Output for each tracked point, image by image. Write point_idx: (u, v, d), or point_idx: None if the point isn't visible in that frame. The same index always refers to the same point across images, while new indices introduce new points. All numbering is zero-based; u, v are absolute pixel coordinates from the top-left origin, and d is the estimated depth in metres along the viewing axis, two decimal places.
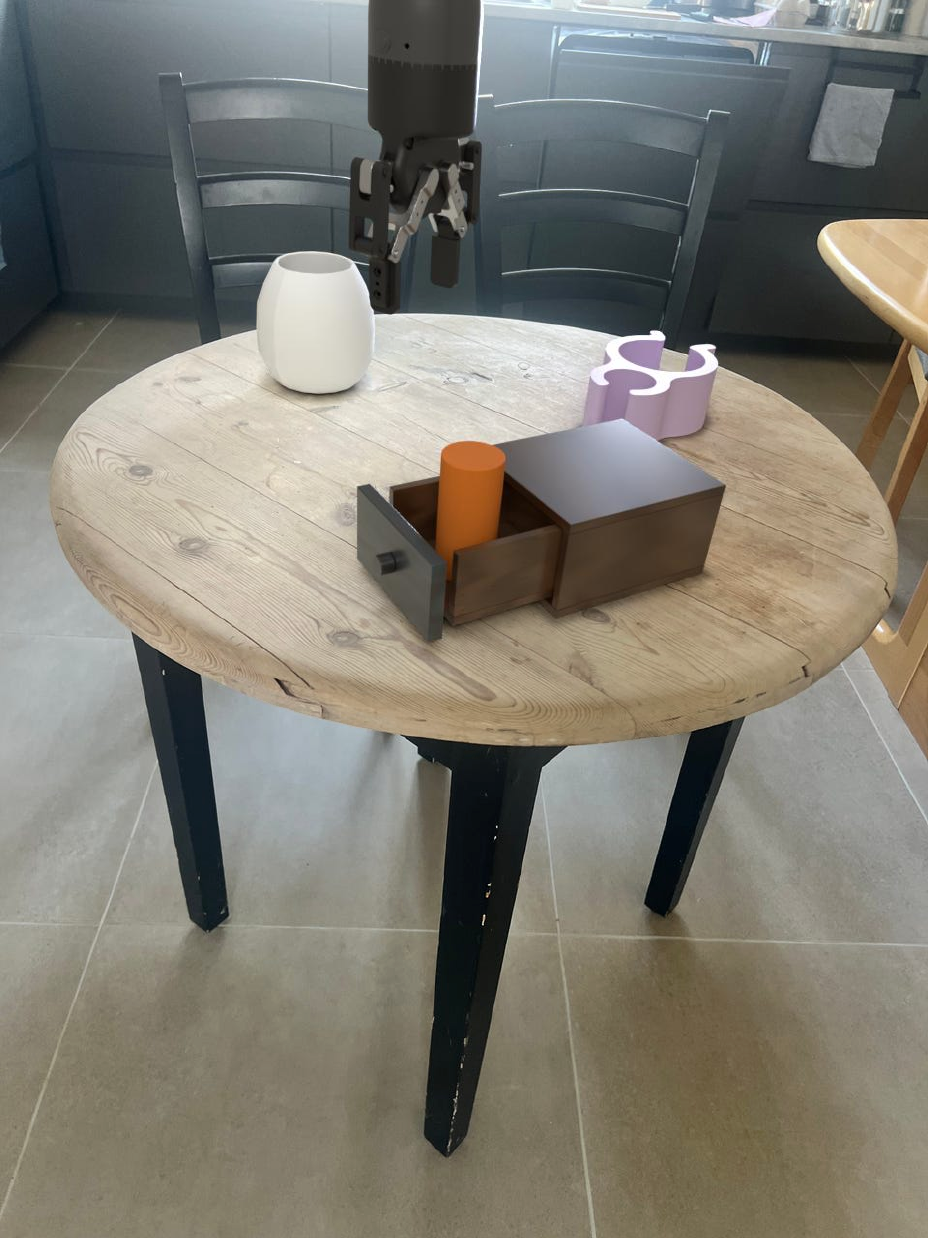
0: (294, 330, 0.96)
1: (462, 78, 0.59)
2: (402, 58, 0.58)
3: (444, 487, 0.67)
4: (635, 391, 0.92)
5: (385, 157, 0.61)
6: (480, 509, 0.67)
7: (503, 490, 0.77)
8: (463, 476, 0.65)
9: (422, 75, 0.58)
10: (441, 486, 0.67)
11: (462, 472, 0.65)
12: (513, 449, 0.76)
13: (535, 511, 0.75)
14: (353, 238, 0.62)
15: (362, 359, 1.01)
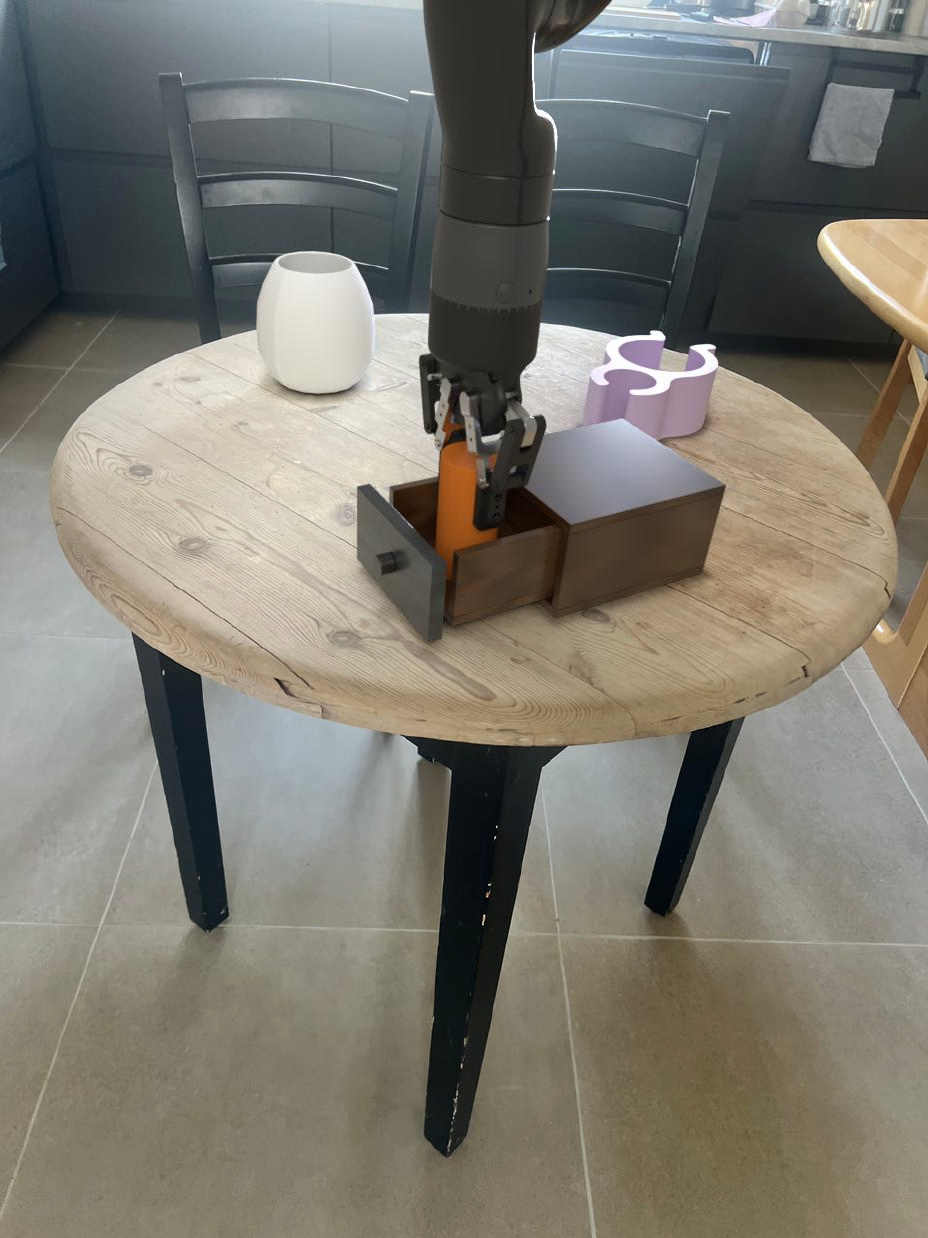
0: (294, 330, 0.96)
1: None
2: (526, 303, 0.57)
3: (444, 487, 0.67)
4: (635, 391, 0.92)
5: None
6: None
7: None
8: (463, 476, 0.65)
9: (536, 312, 0.59)
10: (441, 486, 0.67)
11: (462, 472, 0.65)
12: None
13: (535, 511, 0.75)
14: (504, 483, 0.62)
15: (362, 359, 1.01)
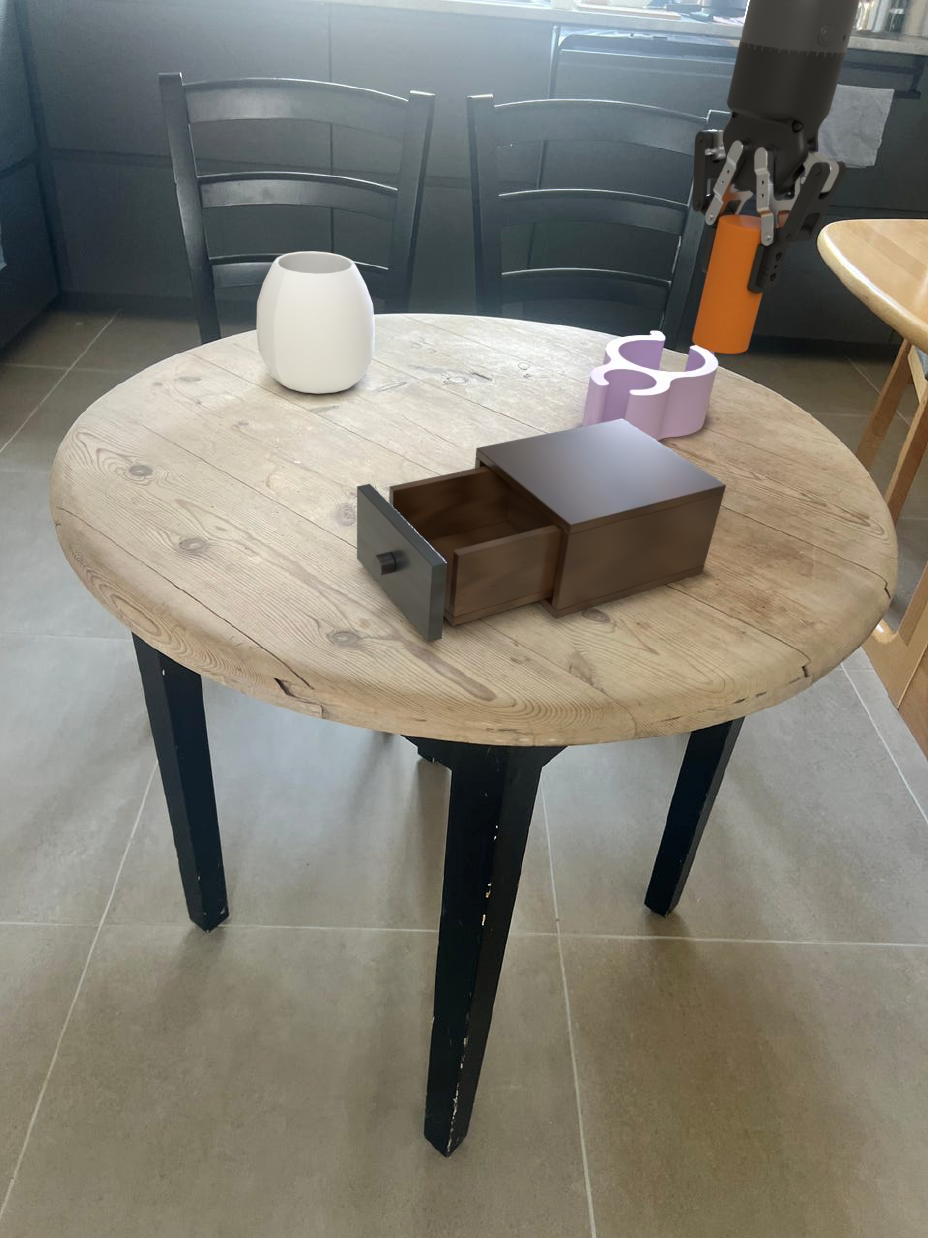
0: (294, 330, 0.96)
1: None
2: (839, 49, 0.63)
3: (723, 251, 0.73)
4: (635, 391, 0.92)
5: None
6: None
7: (503, 490, 0.77)
8: (746, 237, 0.71)
9: (842, 62, 0.65)
10: (718, 252, 0.73)
11: (745, 232, 0.71)
12: (513, 449, 0.76)
13: (535, 511, 0.75)
14: (796, 232, 0.68)
15: (362, 359, 1.01)
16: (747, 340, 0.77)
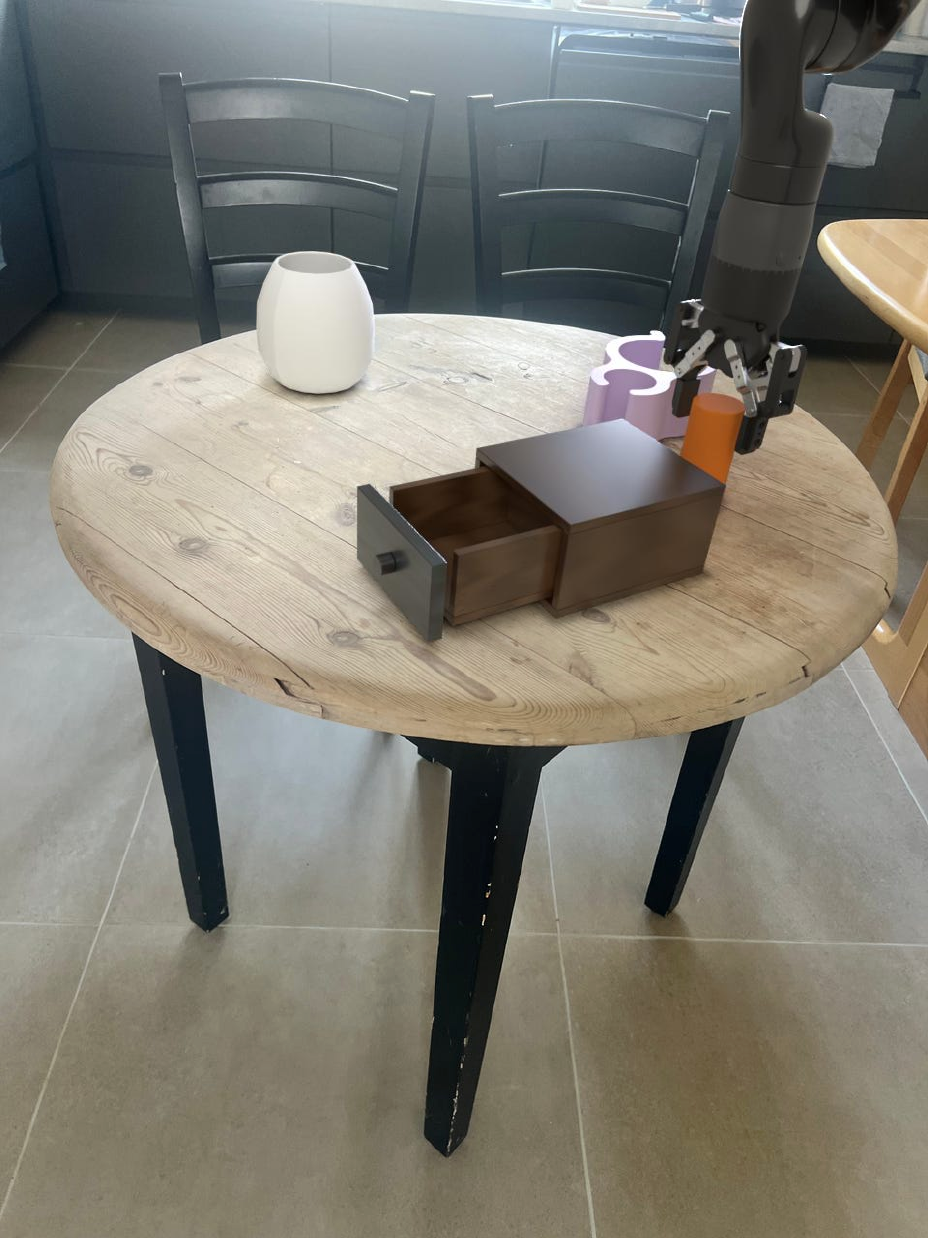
0: (294, 330, 0.96)
1: None
2: (795, 267, 0.73)
3: (696, 429, 0.83)
4: (635, 391, 0.92)
5: None
6: (724, 447, 0.83)
7: (503, 490, 0.77)
8: (716, 419, 0.82)
9: (798, 274, 0.75)
10: (692, 428, 0.84)
11: (715, 415, 0.82)
12: (513, 449, 0.76)
13: (535, 511, 0.75)
14: (776, 408, 0.77)
15: (362, 359, 1.01)
16: None
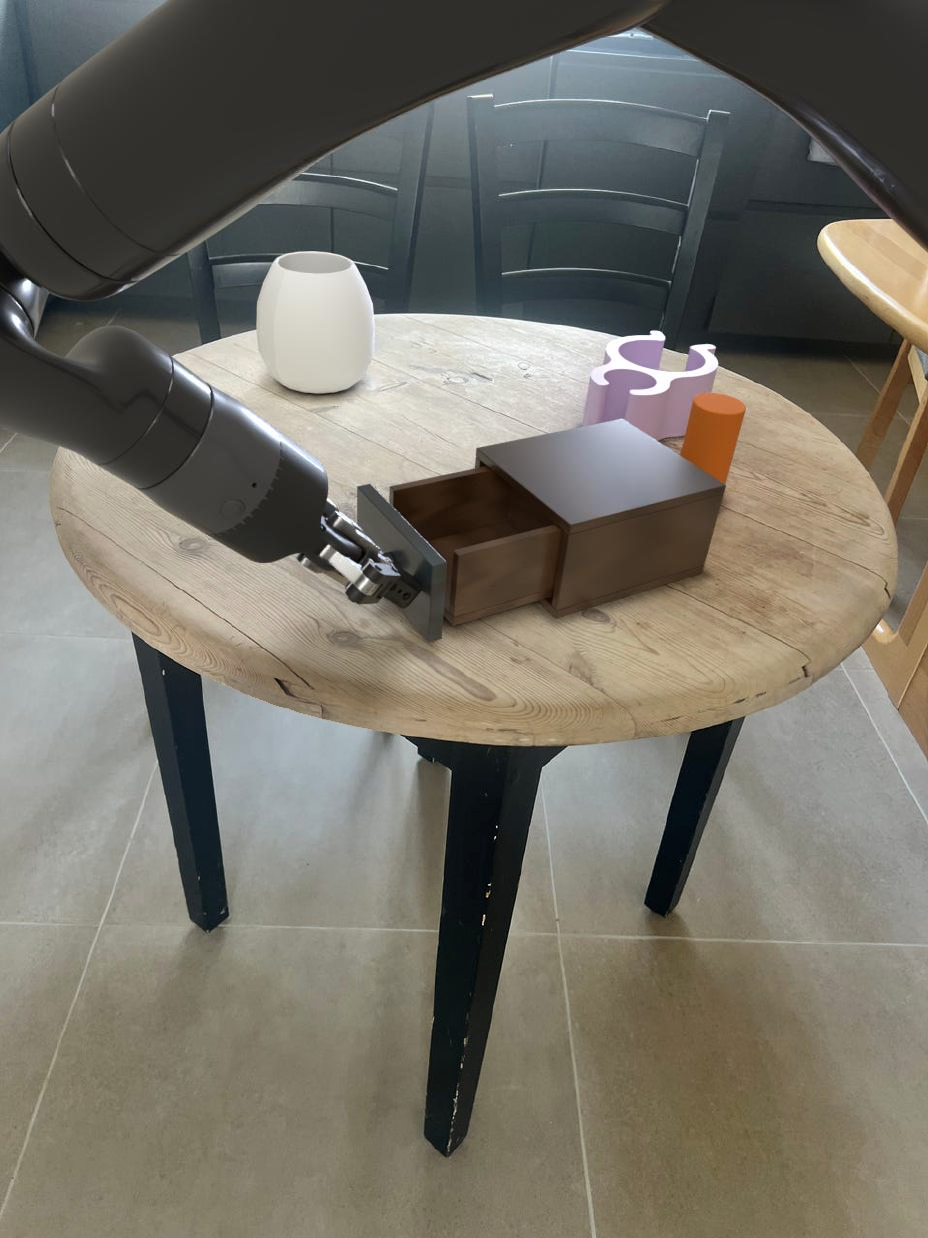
0: (294, 330, 0.96)
1: (288, 443, 0.53)
2: (261, 495, 0.51)
3: (696, 429, 0.83)
4: (635, 391, 0.92)
5: (320, 557, 0.55)
6: (724, 447, 0.83)
7: (503, 490, 0.77)
8: (716, 419, 0.82)
9: (283, 482, 0.51)
10: (692, 428, 0.84)
11: (715, 415, 0.82)
12: (513, 449, 0.76)
13: (535, 511, 0.75)
14: (378, 598, 0.60)
15: (362, 359, 1.01)
16: None
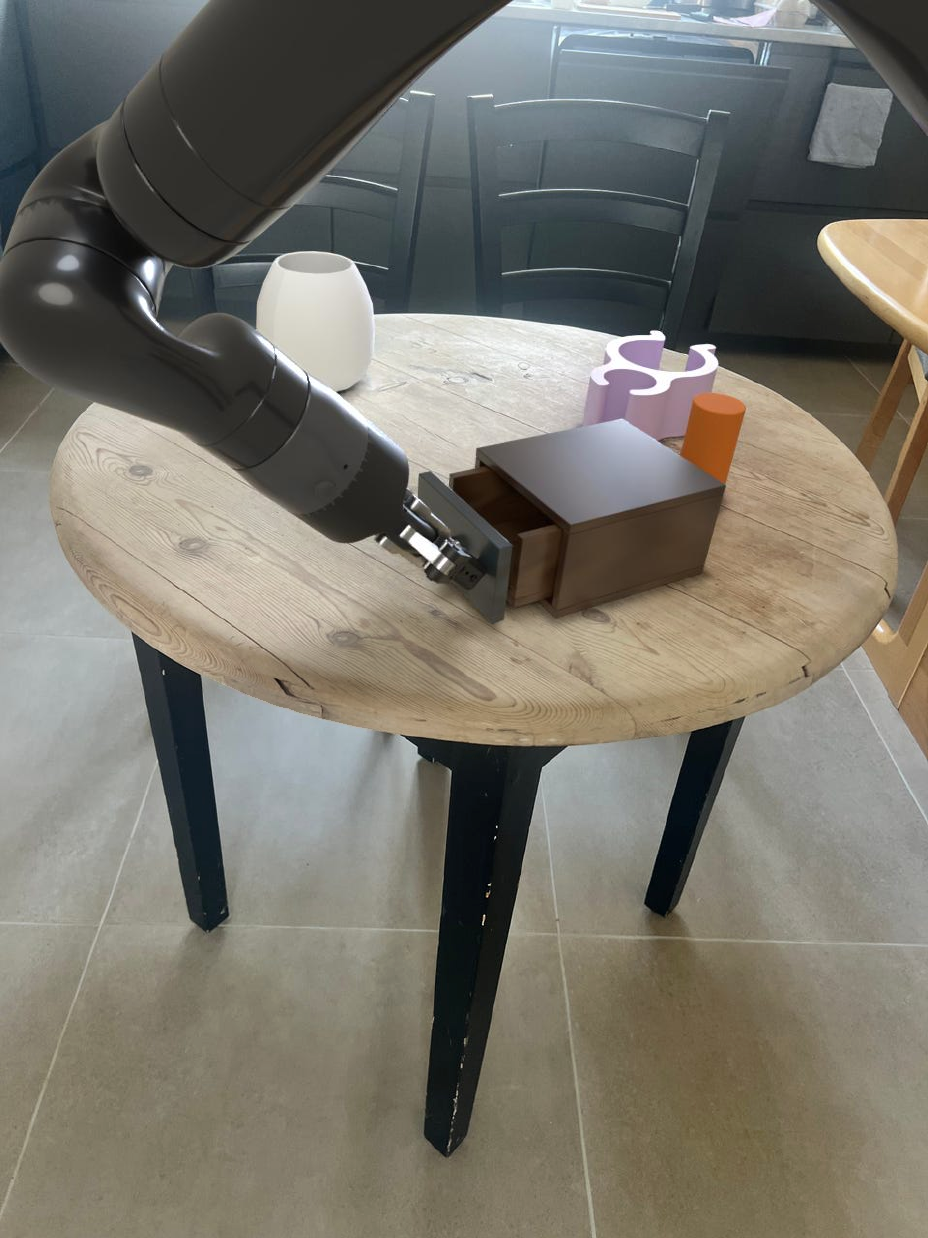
0: (294, 330, 0.96)
1: (374, 428, 0.55)
2: (351, 477, 0.53)
3: (696, 429, 0.83)
4: (635, 391, 0.92)
5: (401, 537, 0.57)
6: (724, 447, 0.83)
7: None
8: (716, 419, 0.82)
9: (370, 464, 0.54)
10: (692, 428, 0.84)
11: (715, 415, 0.82)
12: (513, 449, 0.76)
13: None
14: (450, 579, 0.62)
15: (362, 359, 1.01)
16: None
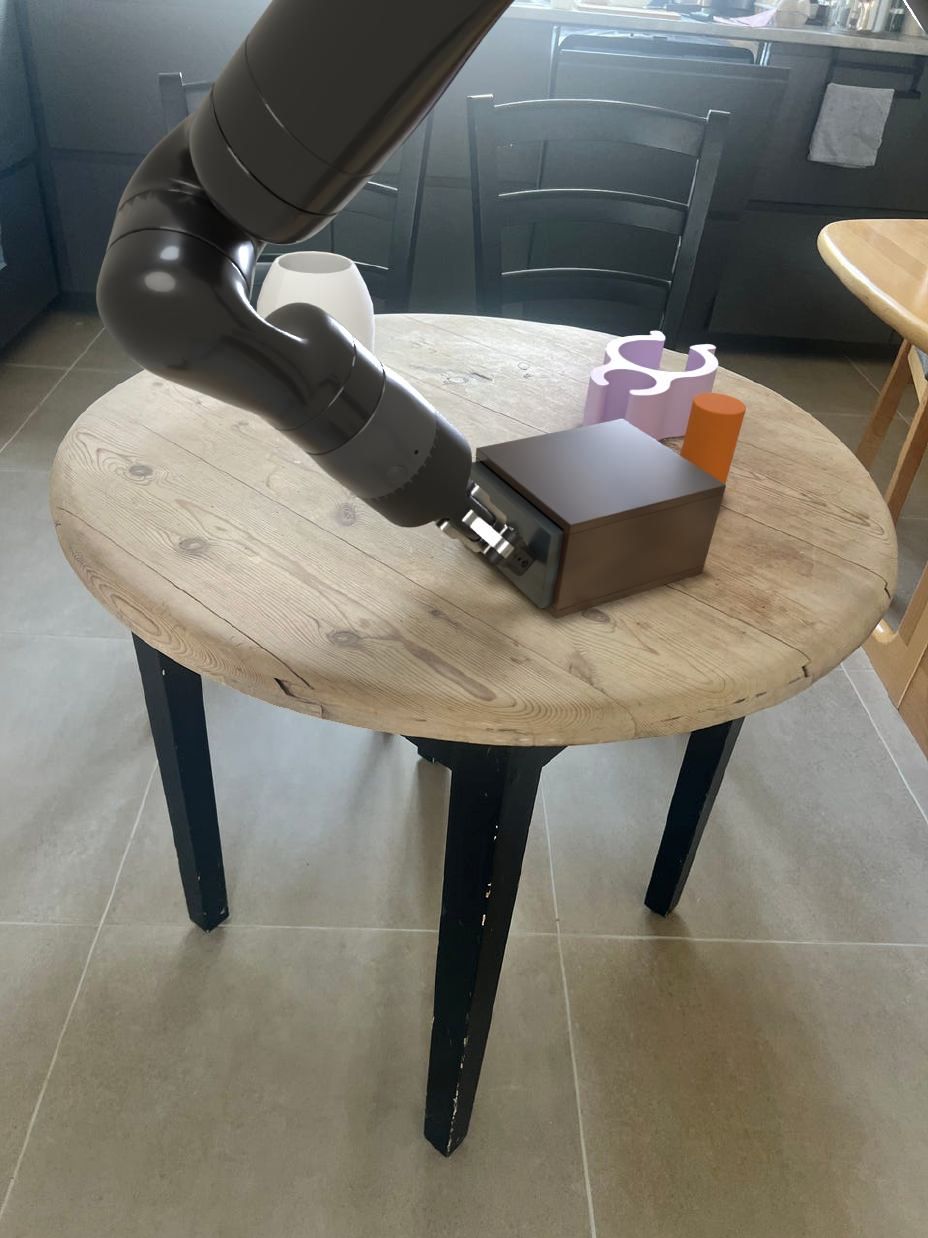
0: None
1: (440, 415, 0.57)
2: (421, 462, 0.55)
3: (696, 429, 0.83)
4: (635, 391, 0.92)
5: (463, 521, 0.59)
6: (724, 447, 0.83)
7: None
8: (716, 419, 0.82)
9: (439, 450, 0.56)
10: (692, 428, 0.84)
11: (715, 415, 0.82)
12: (513, 449, 0.76)
13: None
14: (506, 564, 0.64)
15: None
16: None
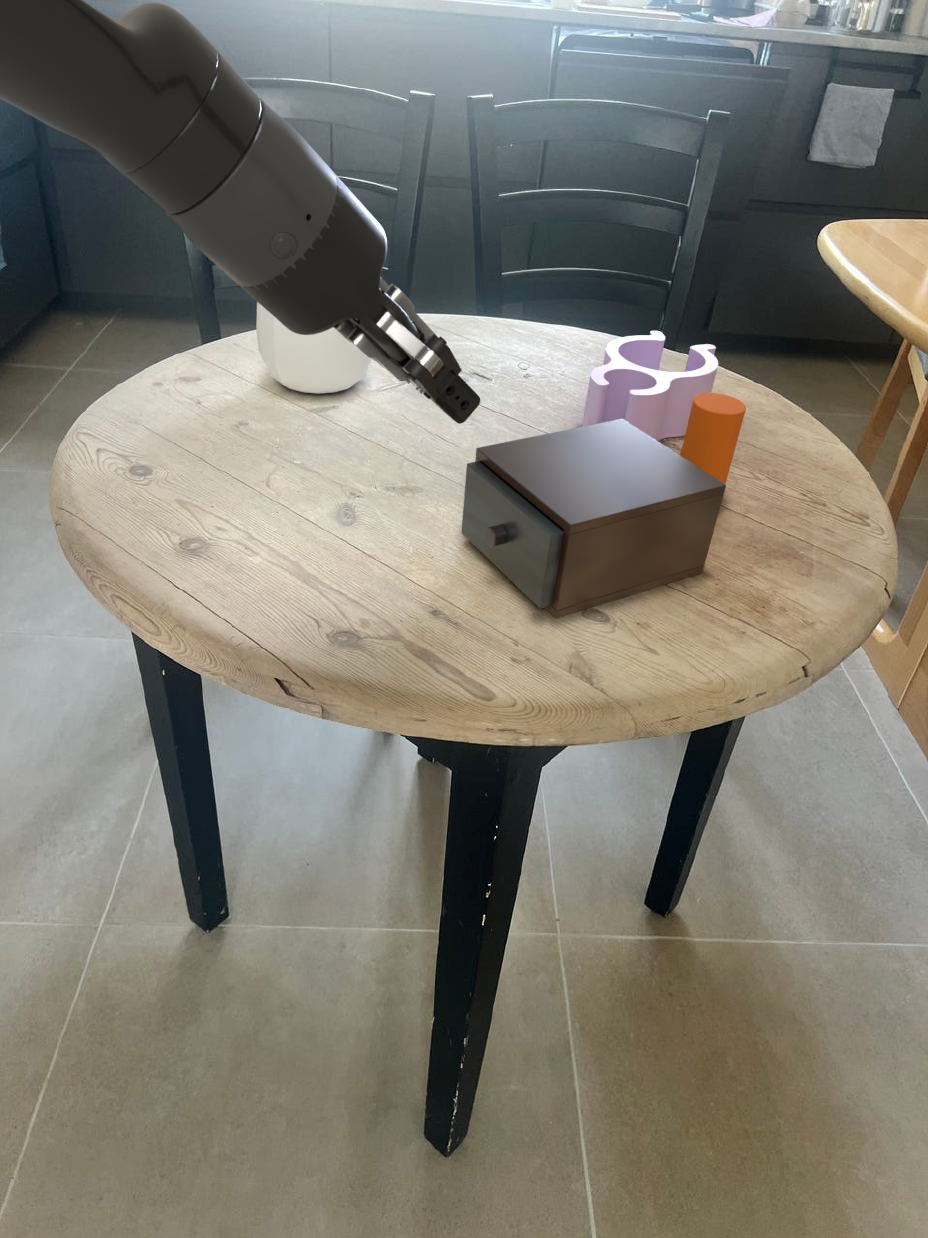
0: None
1: (345, 185, 0.46)
2: (316, 232, 0.44)
3: (696, 429, 0.83)
4: (635, 391, 0.92)
5: (378, 325, 0.48)
6: (724, 447, 0.83)
7: None
8: (716, 419, 0.82)
9: (339, 221, 0.45)
10: (692, 428, 0.84)
11: (715, 415, 0.82)
12: (513, 449, 0.76)
13: None
14: (437, 394, 0.53)
15: (362, 359, 1.01)
16: None
